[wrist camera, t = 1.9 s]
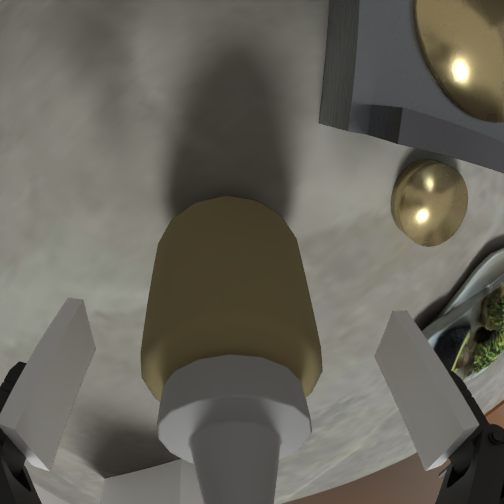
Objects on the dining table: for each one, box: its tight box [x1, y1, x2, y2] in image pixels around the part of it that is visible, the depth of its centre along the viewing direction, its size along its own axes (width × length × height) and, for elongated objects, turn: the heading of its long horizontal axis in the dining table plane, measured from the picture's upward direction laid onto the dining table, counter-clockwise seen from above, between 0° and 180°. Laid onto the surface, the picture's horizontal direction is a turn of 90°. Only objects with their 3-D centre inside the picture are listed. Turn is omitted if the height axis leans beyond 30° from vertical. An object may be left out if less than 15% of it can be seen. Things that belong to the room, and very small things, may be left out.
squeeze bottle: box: [141, 196, 322, 504], centre depth 13 cm, size 8×8×18 cm
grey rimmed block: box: [319, 0, 504, 173], centre depth 12 cm, size 16×15×8 cm
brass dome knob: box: [391, 159, 468, 247], centre depth 20 cm, size 6×6×2 cm
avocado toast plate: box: [421, 248, 504, 382], centre depth 25 cm, size 19×18×5 cm
